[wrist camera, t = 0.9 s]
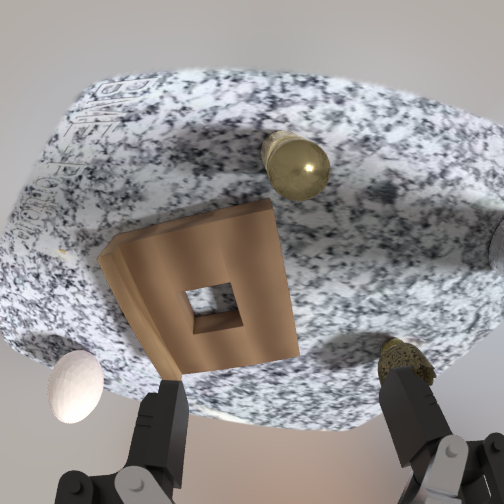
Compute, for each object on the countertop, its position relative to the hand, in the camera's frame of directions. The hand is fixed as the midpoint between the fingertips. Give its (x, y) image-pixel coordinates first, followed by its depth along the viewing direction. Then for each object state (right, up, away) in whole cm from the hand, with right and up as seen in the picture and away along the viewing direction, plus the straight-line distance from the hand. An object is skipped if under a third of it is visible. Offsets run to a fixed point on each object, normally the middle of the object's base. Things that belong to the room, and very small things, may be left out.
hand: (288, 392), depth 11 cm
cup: (+18, -8, +28) cm, 34 cm away
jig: (-6, +1, +22) cm, 23 cm away
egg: (-25, -9, +27) cm, 38 cm away
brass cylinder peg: (+1, +14, +16) cm, 21 cm away
